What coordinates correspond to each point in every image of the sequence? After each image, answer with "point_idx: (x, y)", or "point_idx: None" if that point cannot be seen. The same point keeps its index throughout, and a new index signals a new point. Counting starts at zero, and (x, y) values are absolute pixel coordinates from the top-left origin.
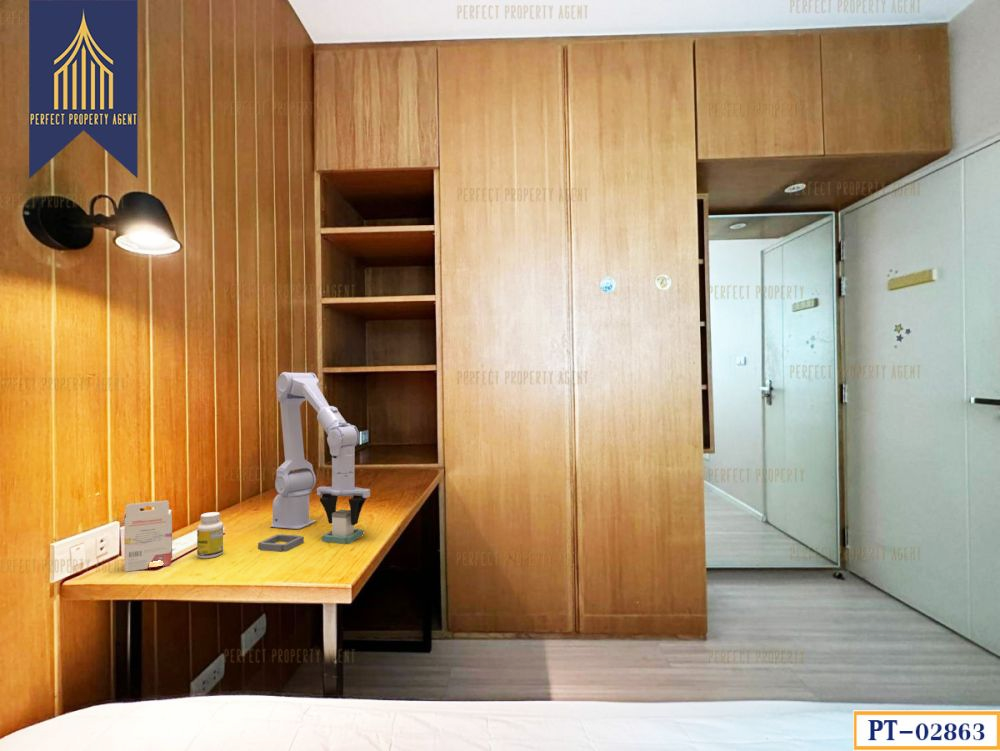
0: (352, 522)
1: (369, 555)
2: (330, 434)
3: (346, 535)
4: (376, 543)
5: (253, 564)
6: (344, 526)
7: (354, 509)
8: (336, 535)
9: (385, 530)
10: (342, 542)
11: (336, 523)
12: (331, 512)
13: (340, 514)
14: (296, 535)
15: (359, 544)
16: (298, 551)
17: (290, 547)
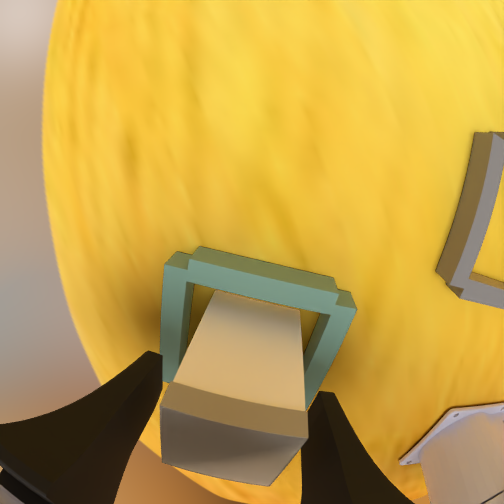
0: (145, 361)
1: (49, 93)
2: None
3: (206, 310)
4: (69, 251)
5: (495, 6)
6: (203, 343)
7: (68, 411)
8: (271, 319)
9: None
10: (216, 252)
11: (266, 370)
12: (322, 458)
13: (217, 417)
14: (478, 301)
15: (125, 237)
16: (423, 120)
17: (473, 165)
